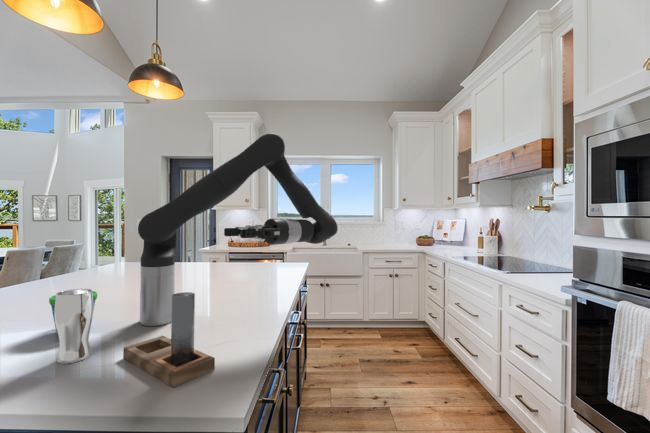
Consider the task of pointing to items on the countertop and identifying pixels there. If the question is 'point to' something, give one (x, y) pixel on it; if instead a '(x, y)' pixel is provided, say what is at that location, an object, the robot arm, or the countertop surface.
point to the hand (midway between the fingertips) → (232, 233)
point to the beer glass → (73, 324)
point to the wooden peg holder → (166, 361)
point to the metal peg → (182, 328)
